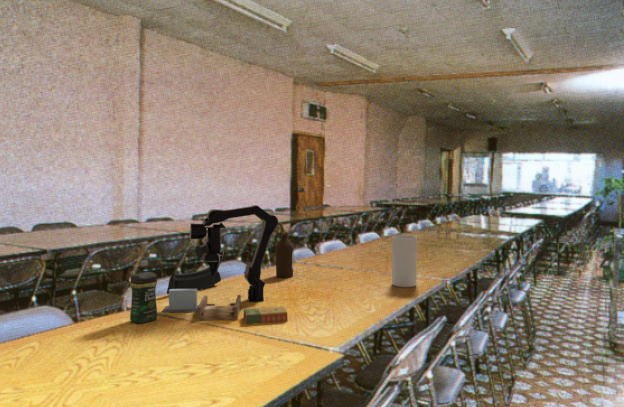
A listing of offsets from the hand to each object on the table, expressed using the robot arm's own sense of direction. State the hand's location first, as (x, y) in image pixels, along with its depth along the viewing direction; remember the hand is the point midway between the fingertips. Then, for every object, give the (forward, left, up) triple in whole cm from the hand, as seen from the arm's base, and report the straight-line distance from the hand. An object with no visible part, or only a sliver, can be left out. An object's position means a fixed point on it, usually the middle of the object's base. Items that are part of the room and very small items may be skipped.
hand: (214, 274), depth 206 cm
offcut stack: (-4, +19, -13) cm, 24 cm away
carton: (-23, +25, -14) cm, 36 cm away
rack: (-4, +15, -13) cm, 20 cm away
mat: (+12, +8, -13) cm, 20 cm away
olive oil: (-32, -55, -13) cm, 65 cm away
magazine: (+12, -25, -13) cm, 31 cm away
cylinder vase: (-93, -30, -13) cm, 99 cm away
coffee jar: (+24, +23, -13) cm, 36 cm away
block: (+12, +8, -13) cm, 19 cm away
